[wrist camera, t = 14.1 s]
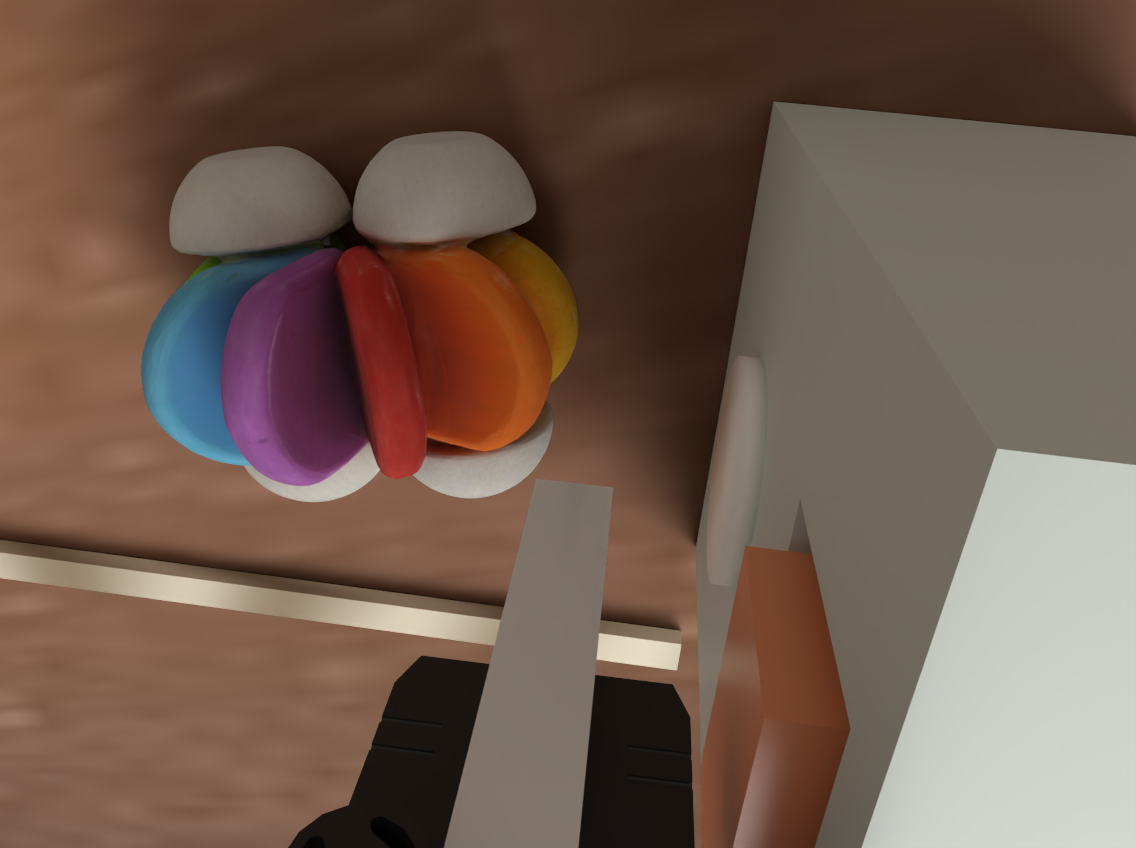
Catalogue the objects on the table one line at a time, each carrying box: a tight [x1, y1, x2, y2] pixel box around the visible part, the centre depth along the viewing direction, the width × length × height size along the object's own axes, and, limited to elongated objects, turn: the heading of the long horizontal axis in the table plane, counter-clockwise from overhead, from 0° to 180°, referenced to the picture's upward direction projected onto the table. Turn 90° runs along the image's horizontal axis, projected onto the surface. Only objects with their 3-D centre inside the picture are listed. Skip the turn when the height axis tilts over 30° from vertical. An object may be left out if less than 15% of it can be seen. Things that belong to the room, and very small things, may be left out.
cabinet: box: [696, 101, 1136, 848], centre depth 15 cm, size 8×12×16 cm
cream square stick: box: [0, 540, 681, 670], centre depth 28 cm, size 25×1×1 cm, turn 86°
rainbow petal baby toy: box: [141, 131, 579, 502], centre depth 20 cm, size 8×10×7 cm
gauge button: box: [700, 546, 851, 848], centre depth 11 cm, size 3×4×3 cm
